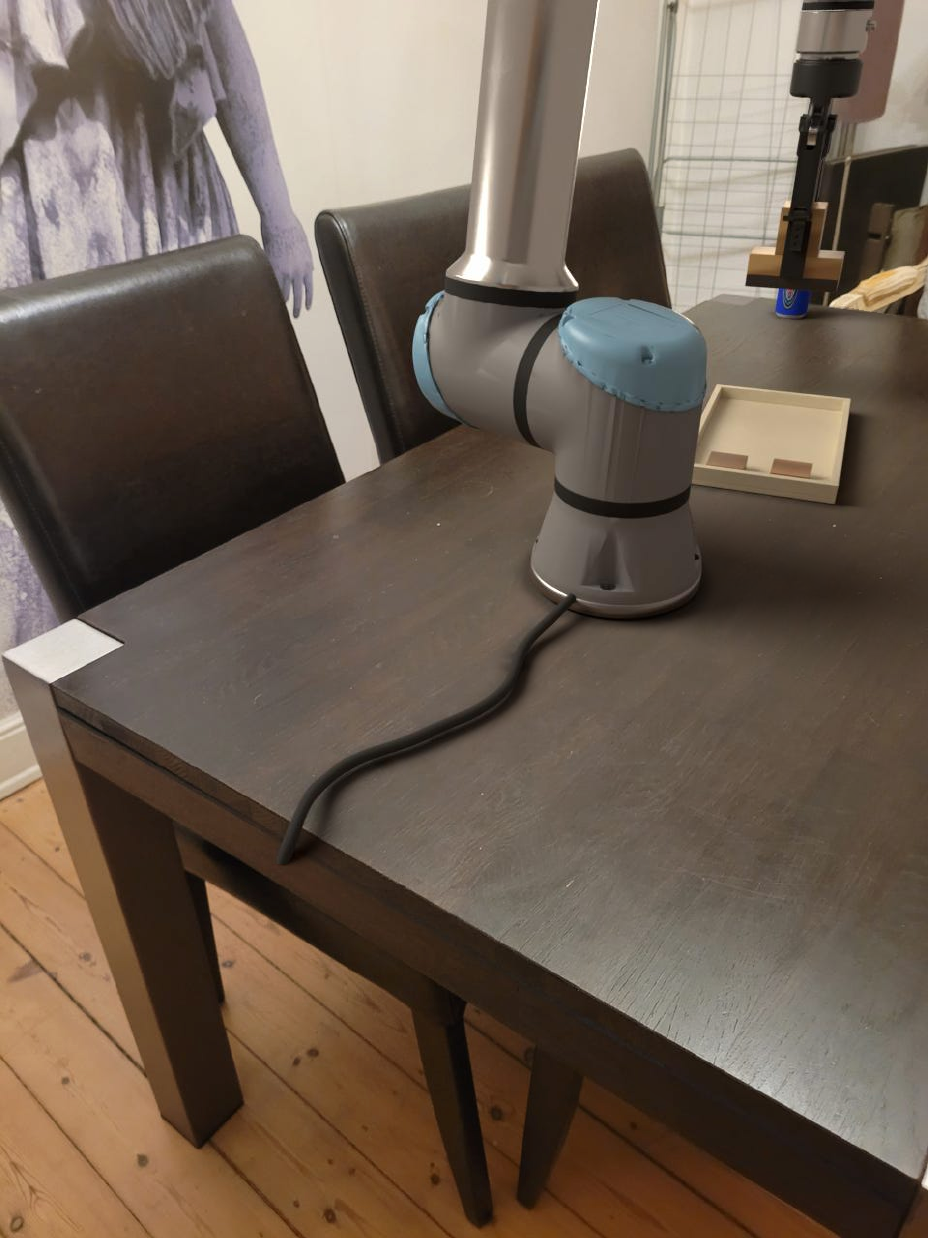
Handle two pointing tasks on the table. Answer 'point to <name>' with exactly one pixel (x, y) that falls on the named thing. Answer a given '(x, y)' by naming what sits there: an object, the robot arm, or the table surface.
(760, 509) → the table surface
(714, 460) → the chip
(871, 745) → the table surface
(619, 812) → the table surface
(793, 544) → the table surface
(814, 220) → the brush
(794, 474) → the chip
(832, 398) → the tray
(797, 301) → the beverage can
